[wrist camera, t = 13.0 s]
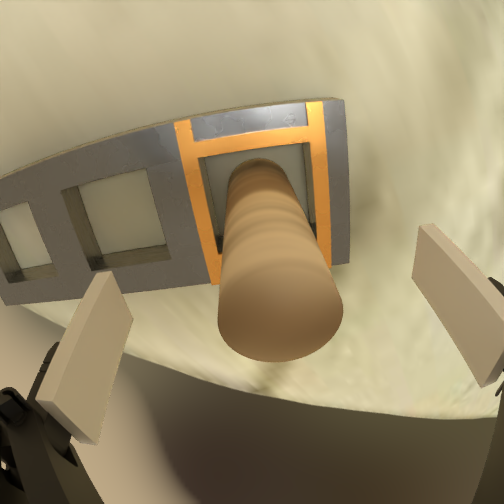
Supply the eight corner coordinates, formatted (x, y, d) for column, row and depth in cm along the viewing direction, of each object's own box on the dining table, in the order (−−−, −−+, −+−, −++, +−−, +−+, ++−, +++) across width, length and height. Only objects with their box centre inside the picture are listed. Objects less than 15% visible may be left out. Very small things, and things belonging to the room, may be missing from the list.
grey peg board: (-28, 190, 21) (-46, 201, 19) (332, 97, 20) (345, 100, 17) (16, 291, 27) (4, 307, 25) (340, 246, 26) (350, 264, 23)
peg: (223, 163, 22) (204, 279, 10) (285, 154, 22) (344, 259, 10) (233, 219, 24) (230, 368, 12) (291, 210, 24) (340, 352, 12)
